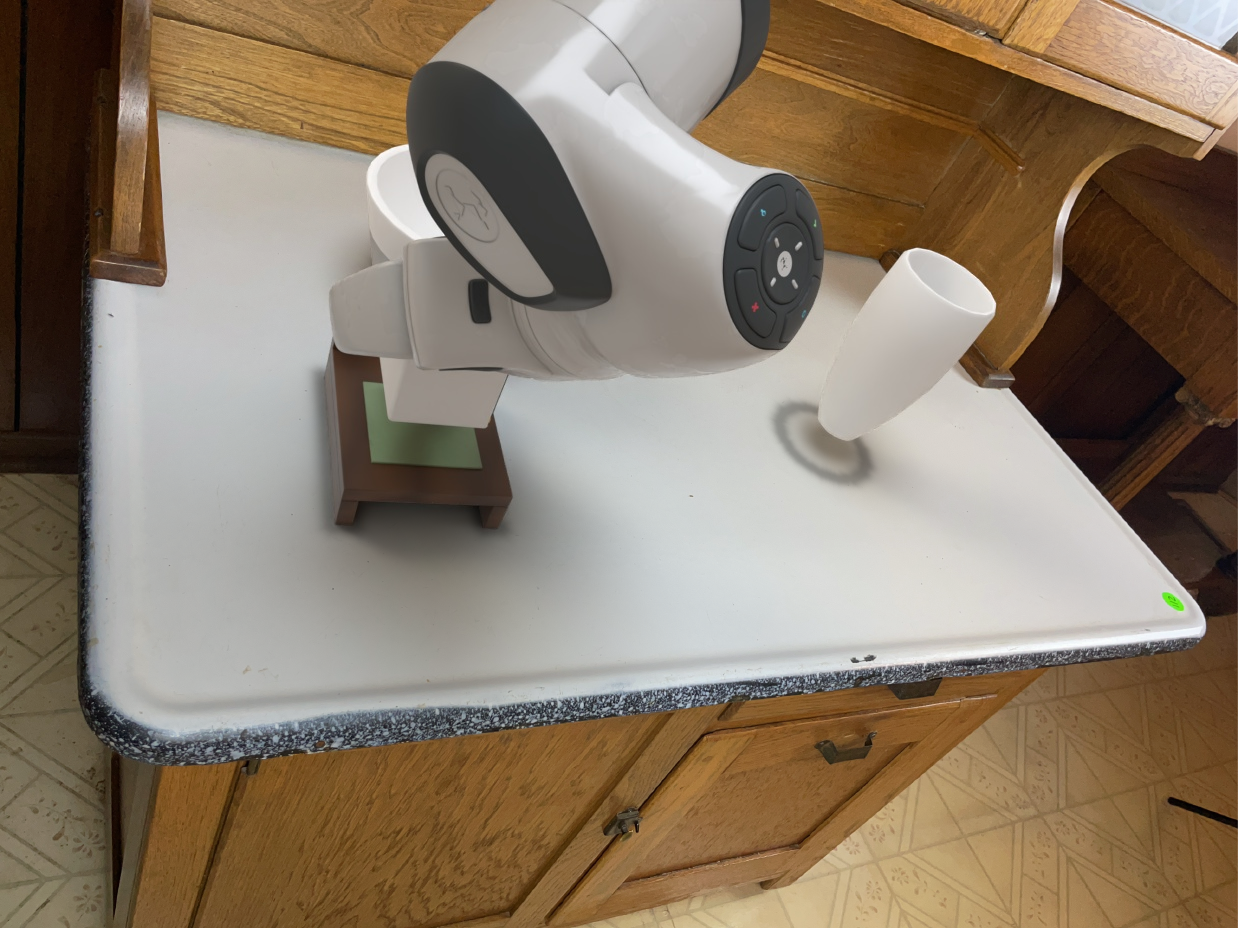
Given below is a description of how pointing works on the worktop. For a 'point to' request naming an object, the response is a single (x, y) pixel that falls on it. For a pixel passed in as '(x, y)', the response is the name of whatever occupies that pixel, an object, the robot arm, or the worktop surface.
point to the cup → (903, 342)
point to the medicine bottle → (440, 394)
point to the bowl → (395, 206)
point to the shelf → (404, 450)
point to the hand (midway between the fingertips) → (451, 319)
